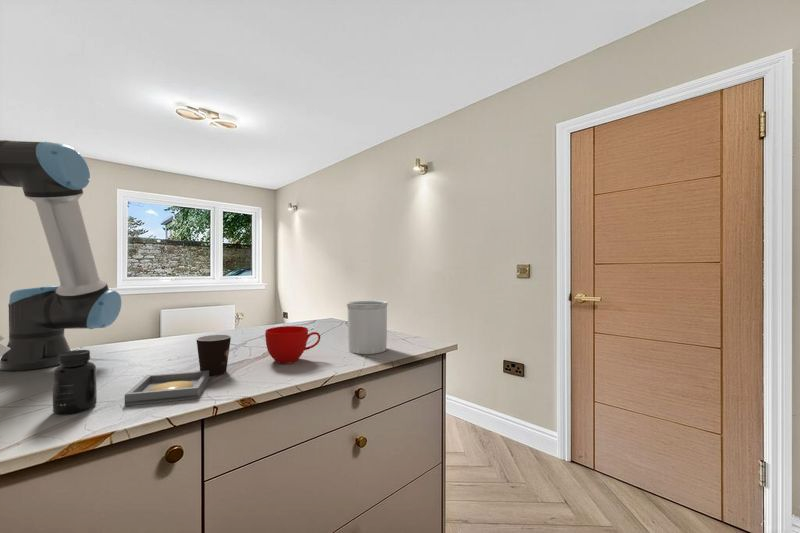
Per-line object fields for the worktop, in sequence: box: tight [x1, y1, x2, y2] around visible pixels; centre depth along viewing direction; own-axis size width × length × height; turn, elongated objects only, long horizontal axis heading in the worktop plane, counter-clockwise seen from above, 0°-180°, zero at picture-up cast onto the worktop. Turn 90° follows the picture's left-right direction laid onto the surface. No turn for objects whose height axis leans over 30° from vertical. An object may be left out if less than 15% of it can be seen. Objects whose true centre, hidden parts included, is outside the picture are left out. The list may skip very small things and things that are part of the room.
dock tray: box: [124, 370, 210, 407], centre depth 85 cm, size 14×14×2 cm
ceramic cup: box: [265, 325, 321, 364], centre depth 114 cm, size 13×17×10 cm
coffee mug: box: [196, 334, 232, 378], centre depth 101 cm, size 12×9×10 cm
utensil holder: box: [346, 299, 389, 355], centre depth 129 cm, size 15×15×18 cm
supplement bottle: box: [51, 349, 98, 416], centre depth 74 cm, size 7×7×12 cm
